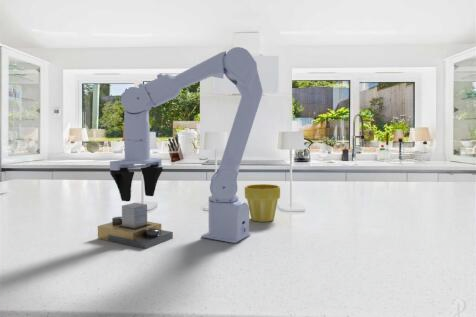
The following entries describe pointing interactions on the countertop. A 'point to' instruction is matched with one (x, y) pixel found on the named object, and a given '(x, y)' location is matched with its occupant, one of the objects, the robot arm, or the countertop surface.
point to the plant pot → (262, 201)
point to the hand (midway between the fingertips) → (138, 198)
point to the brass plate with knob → (133, 234)
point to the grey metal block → (134, 216)
